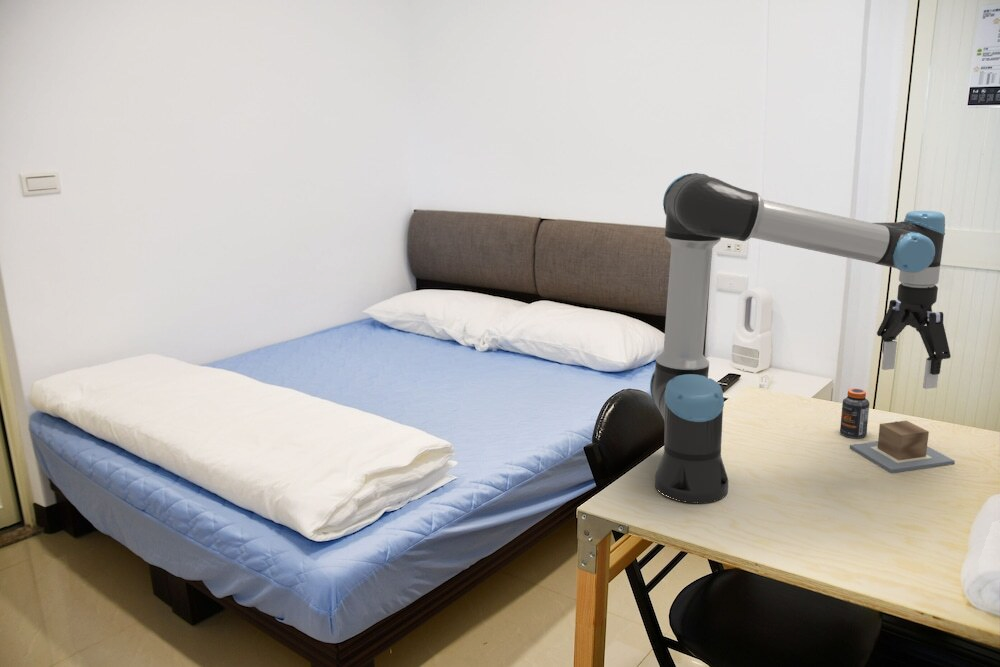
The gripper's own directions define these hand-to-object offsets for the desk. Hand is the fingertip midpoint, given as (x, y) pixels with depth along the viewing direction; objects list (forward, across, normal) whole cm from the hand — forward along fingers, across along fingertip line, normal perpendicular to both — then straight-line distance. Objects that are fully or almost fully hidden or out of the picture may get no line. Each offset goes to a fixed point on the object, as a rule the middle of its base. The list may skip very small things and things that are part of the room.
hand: (908, 378), depth 172 cm
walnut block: (+18, 0, 0) cm, 18 cm away
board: (+19, 0, 0) cm, 19 cm away
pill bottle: (+19, +14, +2) cm, 23 cm away
